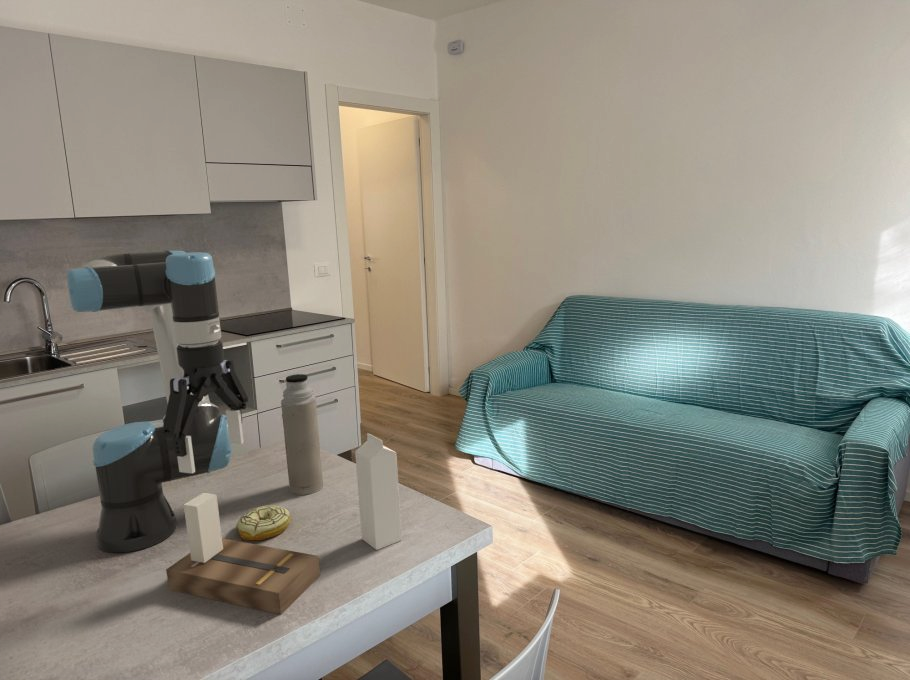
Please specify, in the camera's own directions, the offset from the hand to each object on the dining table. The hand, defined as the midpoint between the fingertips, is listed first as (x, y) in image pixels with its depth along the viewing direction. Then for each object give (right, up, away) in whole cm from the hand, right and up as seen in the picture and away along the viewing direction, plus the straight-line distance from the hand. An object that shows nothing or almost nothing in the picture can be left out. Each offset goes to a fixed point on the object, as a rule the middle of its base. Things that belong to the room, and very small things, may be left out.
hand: (213, 456), depth 117 cm
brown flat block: (+6, -23, 0) cm, 24 cm away
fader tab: (-2, -18, +2) cm, 19 cm away
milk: (+29, -19, +14) cm, 37 cm away
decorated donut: (+3, -19, +20) cm, 28 cm away
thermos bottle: (+8, -15, +39) cm, 43 cm away
